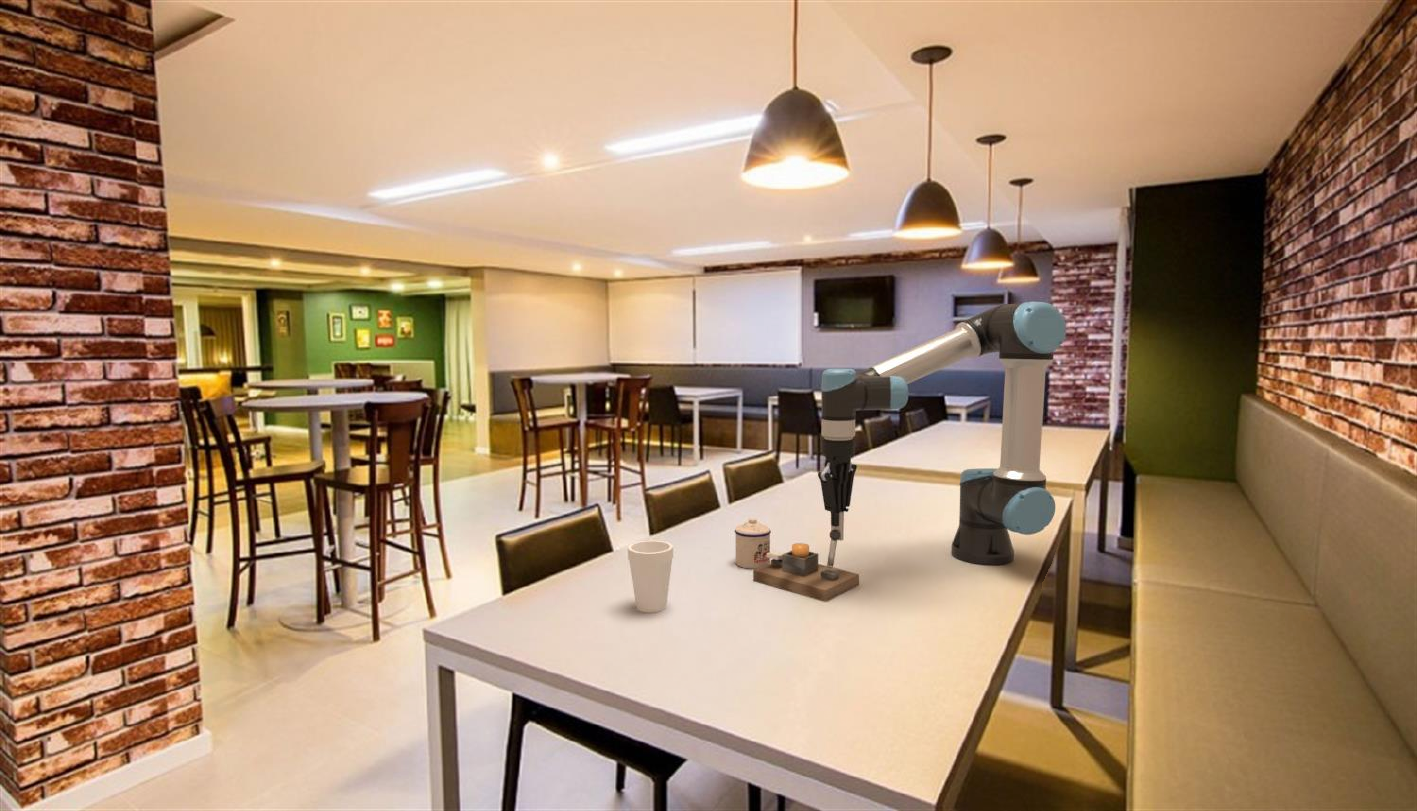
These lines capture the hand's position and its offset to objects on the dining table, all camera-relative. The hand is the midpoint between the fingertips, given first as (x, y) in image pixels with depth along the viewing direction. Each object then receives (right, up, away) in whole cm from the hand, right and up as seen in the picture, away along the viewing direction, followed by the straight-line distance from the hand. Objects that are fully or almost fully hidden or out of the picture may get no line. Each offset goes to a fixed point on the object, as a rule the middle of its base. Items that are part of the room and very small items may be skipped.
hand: (837, 539), depth 158 cm
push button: (-8, -5, +3) cm, 10 cm away
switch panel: (-7, -11, +3) cm, 13 cm away
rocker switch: (-12, -6, +7) cm, 16 cm away
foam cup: (-42, -12, -12) cm, 45 cm away
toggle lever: (-2, -6, -2) cm, 7 cm away
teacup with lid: (-17, -10, +18) cm, 27 cm away
